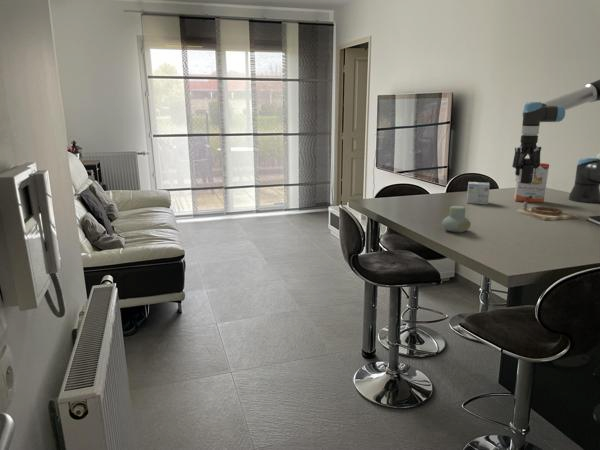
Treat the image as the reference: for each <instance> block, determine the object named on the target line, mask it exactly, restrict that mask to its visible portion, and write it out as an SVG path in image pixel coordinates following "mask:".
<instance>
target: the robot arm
mask: <svg viewBox="0 0 600 450" xmlns="http://www.w3.org/2000/svg"><path fill="white" fill-rule="evenodd" d="M599 101H600V79H598V80H595V81H593V82H590V83H587V84H585V85H584V86H583V87H582V88H580V89H576V90H574V91H572V92H571V91H570V92H569V93H566V94H563V95H560V96H559V97H555V98H552V99H550V100H547V101H545V102H541V101H529V102H525V104H524V106H523V110H522V125H521V136H520V146H518V147H517V146H515V148H514V156H513V162H512V166H511V167H512V168H514V169H515V173H514V175H515V183H516V182H521V174H522V169H521V166H522V164H523V161H524V159H525V158H527V156H528V158H531V159H532V164H533V165H534V170H533V178H532V182H533V181H534V175H535V171H536V168H538V167H539V166H540V163H541V151H542V146H538V145H537V143H538V141H539V136H538V135H539V133H540V124H541V123H558V122H562V121H563V120H564V119H565V116H566V111H567V110H570V109H572V108H574V107H578V106H580V105H583V104H586V103H591V104H592V103H596V102H599ZM568 200H570V201H573V202H581V203H589V204H590V203H591V204H594V203H600V157H591V158H590V157H589V158H588V157H587V158H586V157H585V158H583V157H582V158H579V159H578V161H577V165H576V171H575V178H574V184H573V187H572V189H571V191H570V193H569V195H568Z"/></svg>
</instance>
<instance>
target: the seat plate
mask: <svg viewBox="0 0 600 450" xmlns="http://www.w3.org/2000/svg"><path fill="white" fill-rule="evenodd" d="M528 203H529V202H523V207H522V209H521V208H520V209H517V208H516V213H519V214H522V215H525V216H529V217H532V218H535V219H538V220H542V221H555V220H569V219H572V218H574V219H578V215H576V214H573V213H568V212H565V211H563V210H562V209H559V208H556V207H550V206H533V207H531V208H528ZM572 220H573V219H572Z"/></svg>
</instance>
